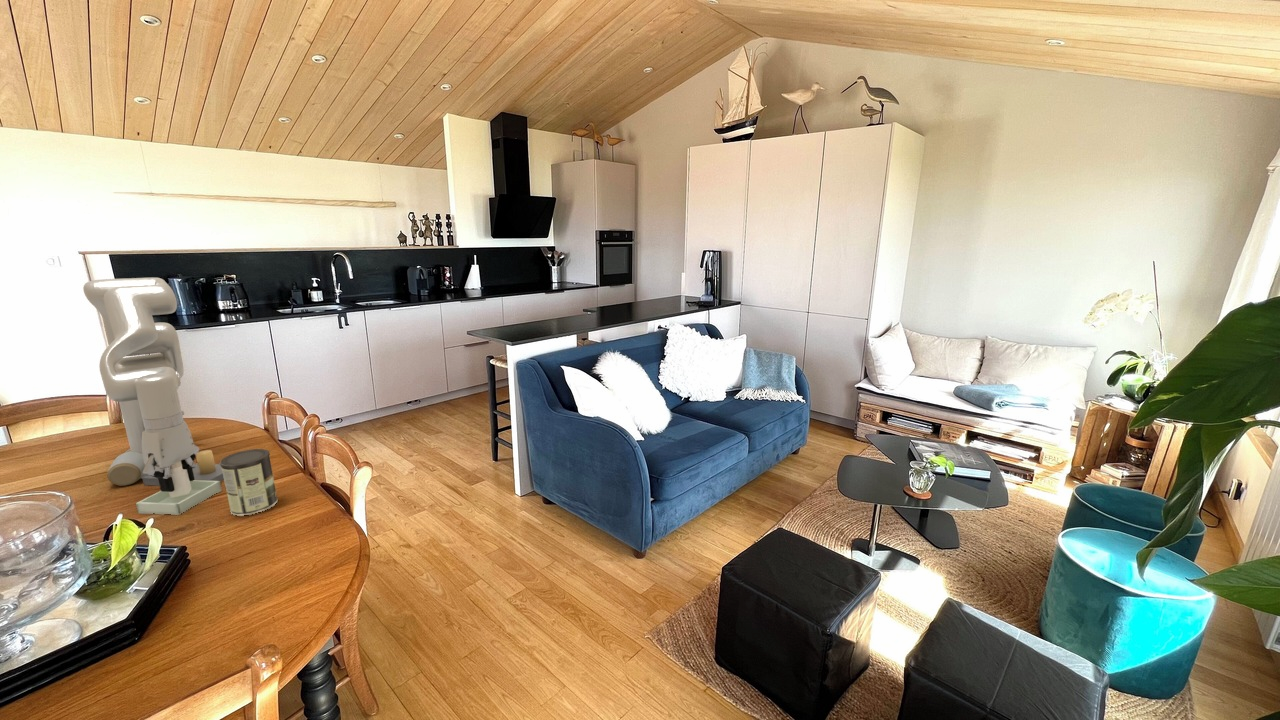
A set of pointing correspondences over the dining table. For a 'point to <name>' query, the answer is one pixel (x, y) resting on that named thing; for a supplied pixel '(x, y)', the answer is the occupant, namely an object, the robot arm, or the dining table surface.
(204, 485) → the tray
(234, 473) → the coffee can
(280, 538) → the dining table surface
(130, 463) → the ceramic mug
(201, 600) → the dining table surface
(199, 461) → the socket block
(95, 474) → the dining table surface
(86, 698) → the dining table surface
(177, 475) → the small white bottle
